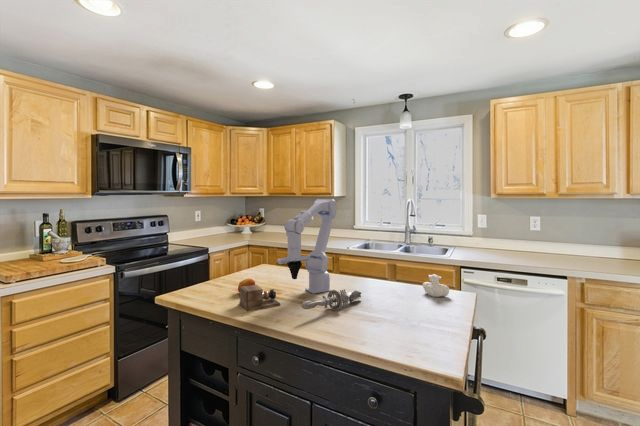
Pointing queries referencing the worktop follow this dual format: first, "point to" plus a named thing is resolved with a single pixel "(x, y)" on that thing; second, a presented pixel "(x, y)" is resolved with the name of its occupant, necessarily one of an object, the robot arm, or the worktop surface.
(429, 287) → the white rounded figure
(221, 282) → the worktop surface
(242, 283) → the fruit
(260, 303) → the bearing housing
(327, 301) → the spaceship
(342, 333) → the worktop surface
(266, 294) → the shaft
